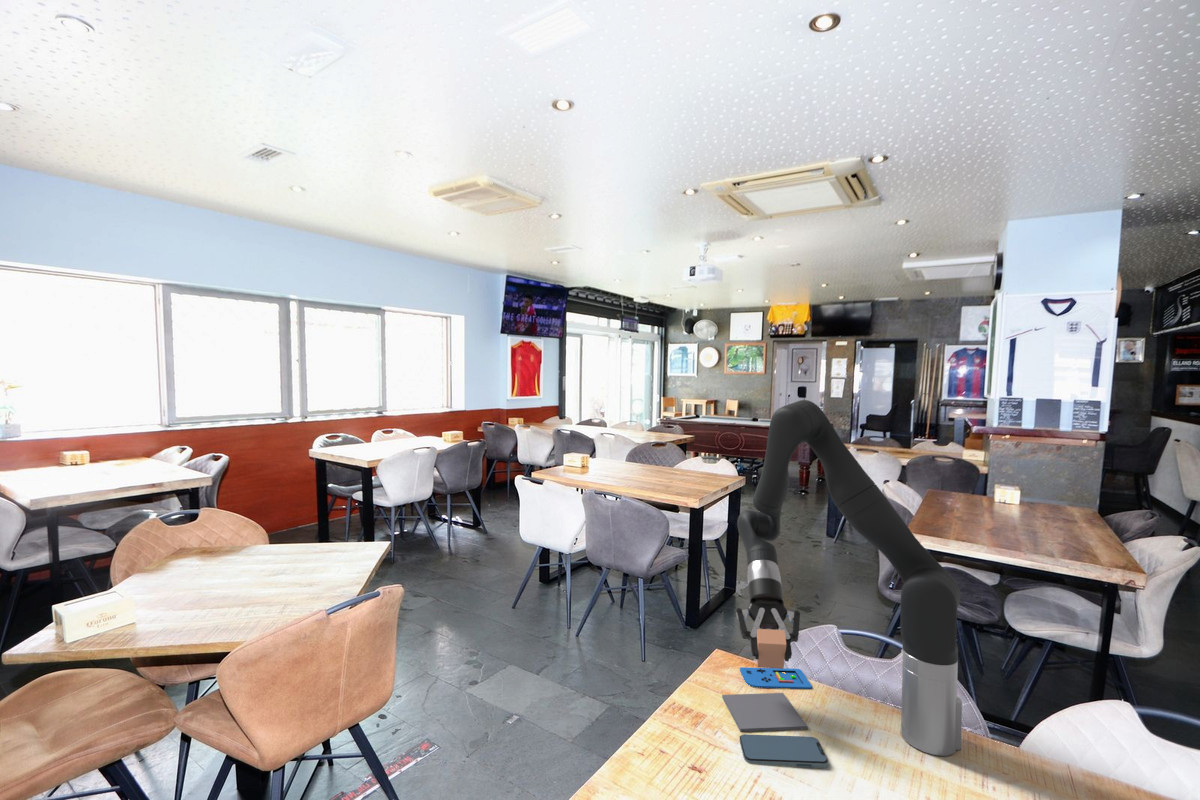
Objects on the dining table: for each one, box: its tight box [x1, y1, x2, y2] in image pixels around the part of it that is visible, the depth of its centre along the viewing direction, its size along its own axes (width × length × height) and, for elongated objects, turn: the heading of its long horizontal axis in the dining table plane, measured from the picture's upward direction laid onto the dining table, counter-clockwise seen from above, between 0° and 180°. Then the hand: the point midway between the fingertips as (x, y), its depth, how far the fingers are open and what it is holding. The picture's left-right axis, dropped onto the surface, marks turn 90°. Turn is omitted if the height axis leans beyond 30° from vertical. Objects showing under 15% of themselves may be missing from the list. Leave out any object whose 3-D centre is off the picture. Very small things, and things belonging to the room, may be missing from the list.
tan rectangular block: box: [756, 628, 786, 669], centre depth 115 cm, size 6×3×12 cm
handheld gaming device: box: [739, 666, 813, 690], centre depth 127 cm, size 8×1×15 cm
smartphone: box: [739, 733, 829, 769], centre depth 101 cm, size 8×2×15 cm
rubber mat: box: [721, 692, 809, 733], centre depth 113 cm, size 14×12×1 cm
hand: (772, 658), depth 112 cm, fingers closed on tan rectangular block, 5 cm apart
